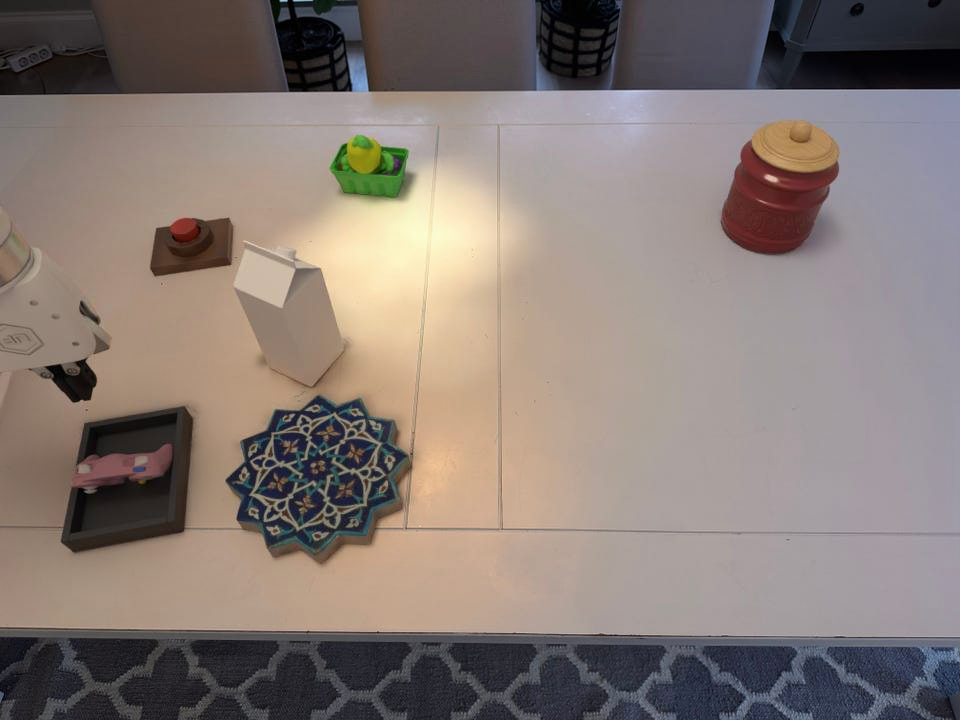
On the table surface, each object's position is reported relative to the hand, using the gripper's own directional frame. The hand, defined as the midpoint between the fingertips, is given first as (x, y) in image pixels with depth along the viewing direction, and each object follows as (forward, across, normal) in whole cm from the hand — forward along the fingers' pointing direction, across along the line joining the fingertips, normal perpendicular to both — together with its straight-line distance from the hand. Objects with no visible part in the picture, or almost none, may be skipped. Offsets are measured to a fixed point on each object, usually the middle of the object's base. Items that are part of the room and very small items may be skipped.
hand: (84, 390), depth 68 cm
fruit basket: (+14, +31, +46) cm, 57 cm away
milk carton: (+14, +20, +11) cm, 27 cm away
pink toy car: (+13, 0, -3) cm, 14 cm away
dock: (+14, 0, -3) cm, 14 cm away
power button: (+11, +3, +36) cm, 38 cm away
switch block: (+14, +3, +36) cm, 39 cm away
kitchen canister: (+14, +88, +23) cm, 92 cm away
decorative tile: (+14, +21, -7) cm, 26 cm away
